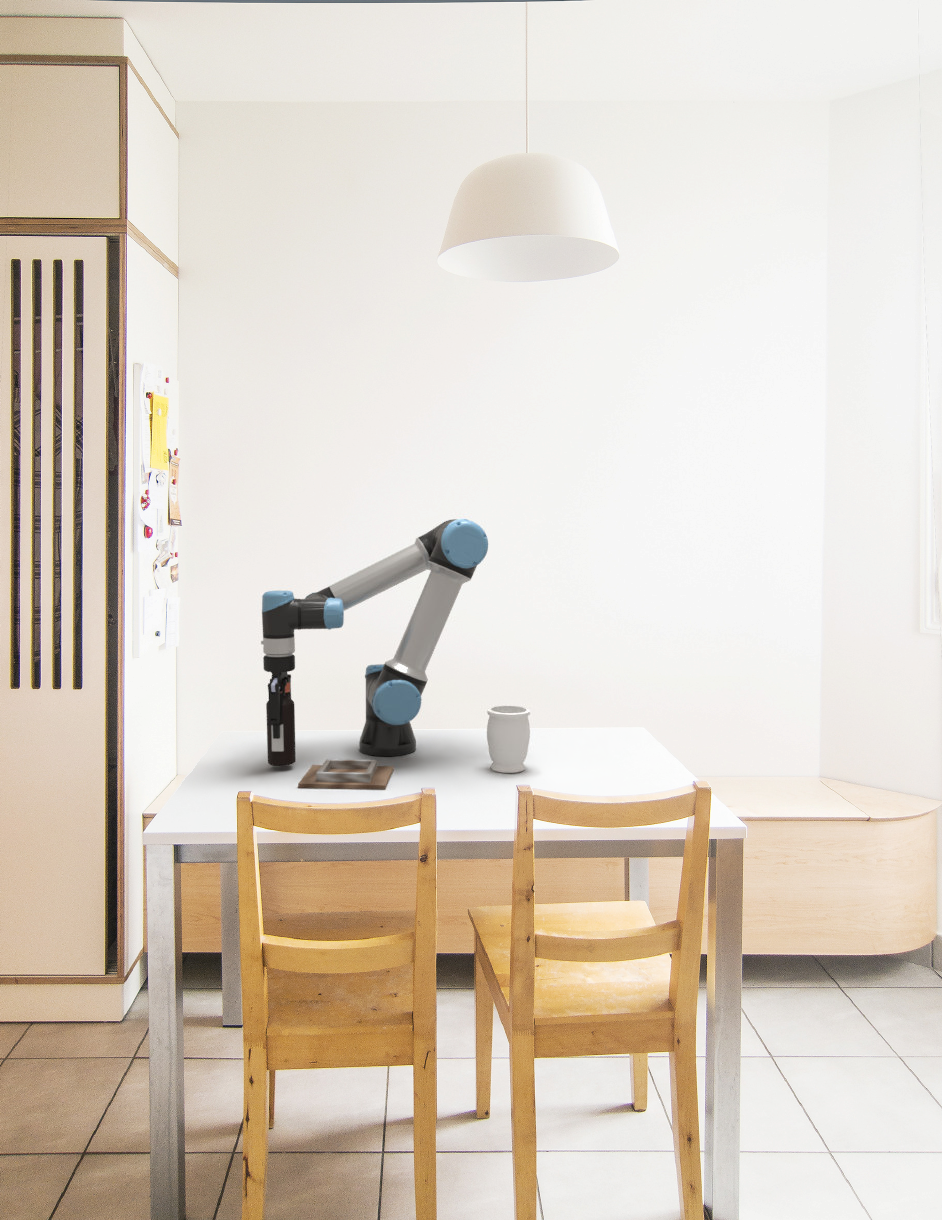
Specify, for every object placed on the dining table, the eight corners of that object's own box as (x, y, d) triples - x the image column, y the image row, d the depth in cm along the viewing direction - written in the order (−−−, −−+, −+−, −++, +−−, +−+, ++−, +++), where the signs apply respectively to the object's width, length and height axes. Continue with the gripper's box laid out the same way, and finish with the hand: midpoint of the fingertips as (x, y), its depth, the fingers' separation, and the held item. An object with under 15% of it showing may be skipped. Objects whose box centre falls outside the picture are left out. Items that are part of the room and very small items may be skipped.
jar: (534, 765, 231) (535, 707, 230) (522, 776, 222) (523, 715, 220) (493, 761, 235) (494, 703, 233) (480, 772, 225) (481, 711, 224)
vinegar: (294, 766, 224) (292, 685, 222) (265, 766, 224) (263, 685, 222) (297, 758, 231) (295, 680, 229) (269, 759, 230) (267, 680, 228)
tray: (393, 770, 226) (393, 758, 226) (385, 789, 210) (385, 776, 210) (312, 768, 227) (312, 756, 227) (298, 787, 211) (298, 775, 211)
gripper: (273, 648, 234) (275, 737, 236) (253, 660, 215) (255, 757, 217) (303, 648, 234) (304, 737, 236) (285, 660, 215) (287, 757, 217)
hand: (281, 747), depth 227 cm, fingers closed on vinegar, 6 cm apart
